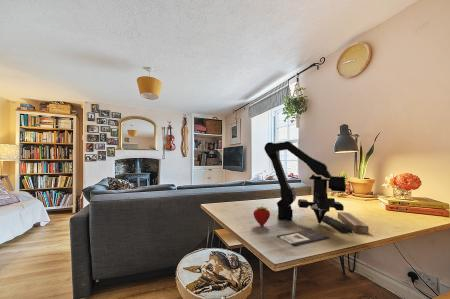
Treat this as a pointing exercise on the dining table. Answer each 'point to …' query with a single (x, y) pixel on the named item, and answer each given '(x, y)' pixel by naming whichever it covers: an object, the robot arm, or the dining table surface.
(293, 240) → the chocolate bar
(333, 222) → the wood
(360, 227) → the laid board
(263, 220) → the strawberry
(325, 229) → the dining table surface
